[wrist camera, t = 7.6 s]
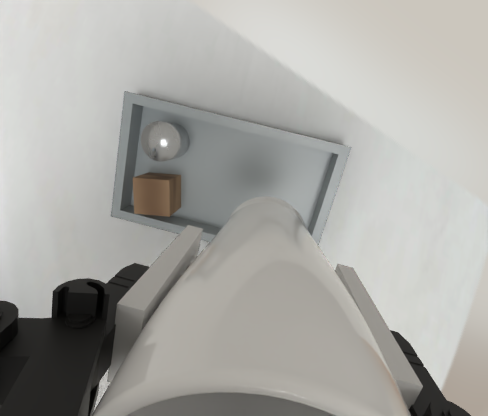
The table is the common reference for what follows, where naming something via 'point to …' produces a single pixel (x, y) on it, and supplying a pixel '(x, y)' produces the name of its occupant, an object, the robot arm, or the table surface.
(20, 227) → the table surface
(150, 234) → the table surface
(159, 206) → the walnut cube
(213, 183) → the collection tray
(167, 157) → the metal cylinder
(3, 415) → the robot arm
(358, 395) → the drinking glass
